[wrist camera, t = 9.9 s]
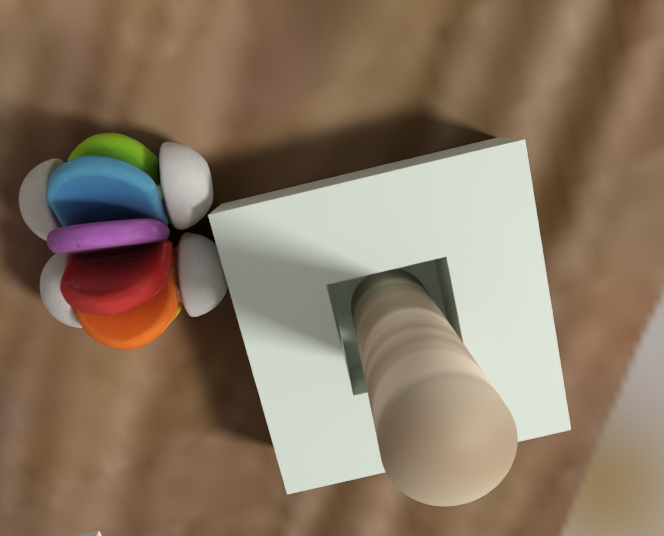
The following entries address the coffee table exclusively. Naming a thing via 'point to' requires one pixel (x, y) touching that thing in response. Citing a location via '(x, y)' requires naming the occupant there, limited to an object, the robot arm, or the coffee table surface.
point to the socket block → (377, 256)
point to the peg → (428, 396)
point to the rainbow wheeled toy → (123, 238)
